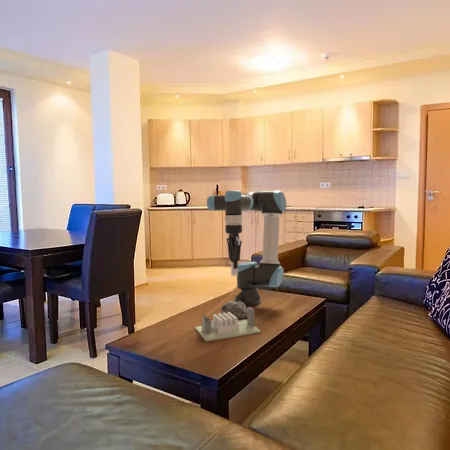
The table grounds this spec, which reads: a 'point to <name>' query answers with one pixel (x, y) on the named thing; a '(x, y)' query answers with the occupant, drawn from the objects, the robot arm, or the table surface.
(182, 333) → the table surface
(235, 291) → the strap
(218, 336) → the heatsink board
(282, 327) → the table surface
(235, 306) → the rock
